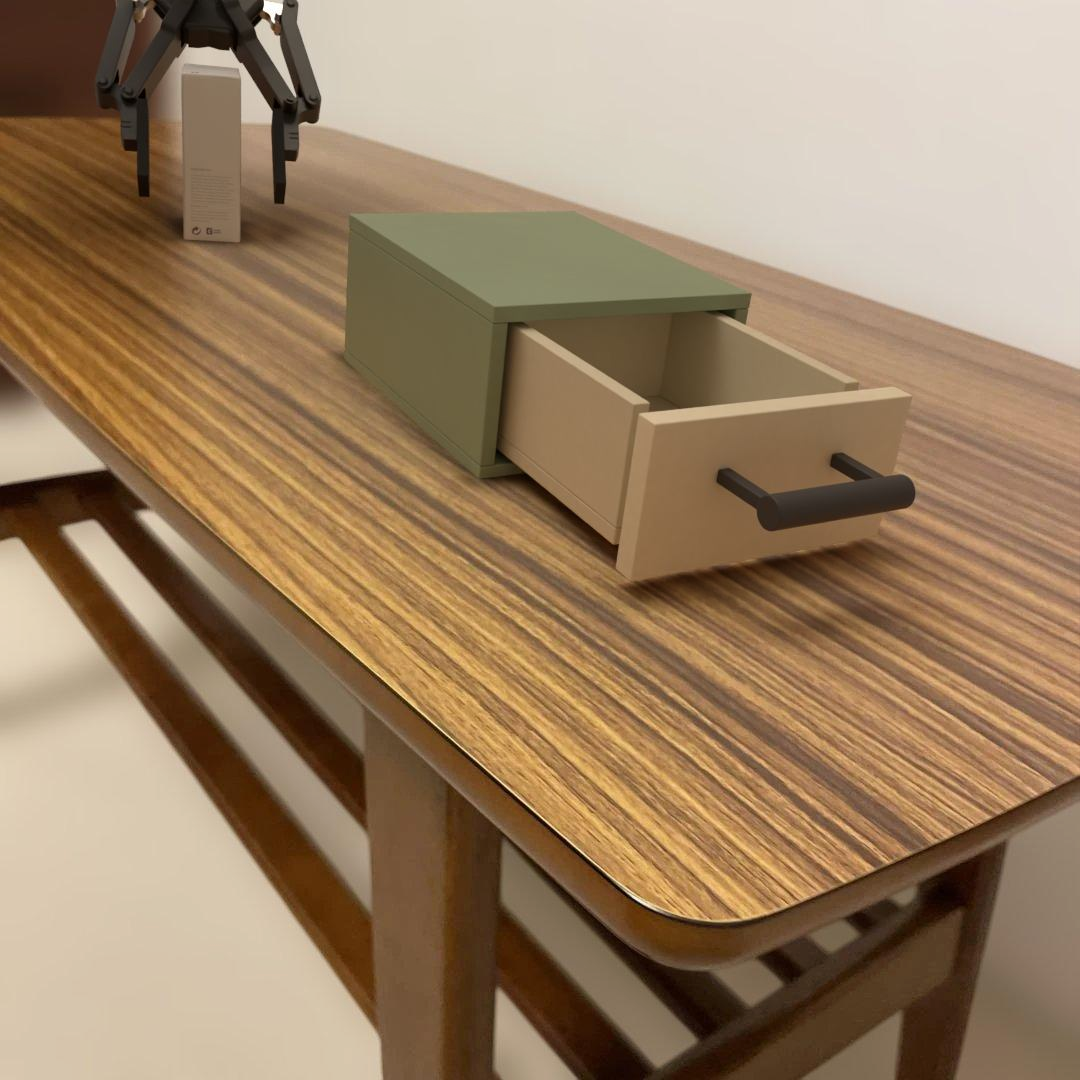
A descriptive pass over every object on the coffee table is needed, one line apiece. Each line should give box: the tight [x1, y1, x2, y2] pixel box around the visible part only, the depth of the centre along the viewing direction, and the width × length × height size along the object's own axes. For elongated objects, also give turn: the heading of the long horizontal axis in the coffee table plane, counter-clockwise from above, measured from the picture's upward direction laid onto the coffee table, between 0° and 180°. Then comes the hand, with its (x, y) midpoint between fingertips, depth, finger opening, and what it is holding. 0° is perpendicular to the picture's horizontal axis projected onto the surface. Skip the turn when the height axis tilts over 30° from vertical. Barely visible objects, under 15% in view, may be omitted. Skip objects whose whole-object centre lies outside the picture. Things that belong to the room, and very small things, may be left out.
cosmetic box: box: [180, 62, 242, 243], centre depth 93 cm, size 6×4×12 cm
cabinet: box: [343, 210, 753, 480], centre depth 67 cm, size 18×15×9 cm
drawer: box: [496, 310, 917, 582], centre depth 56 cm, size 21×13×7 cm, turn 29°
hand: (212, 190), depth 91 cm, fingers open, 9 cm apart
